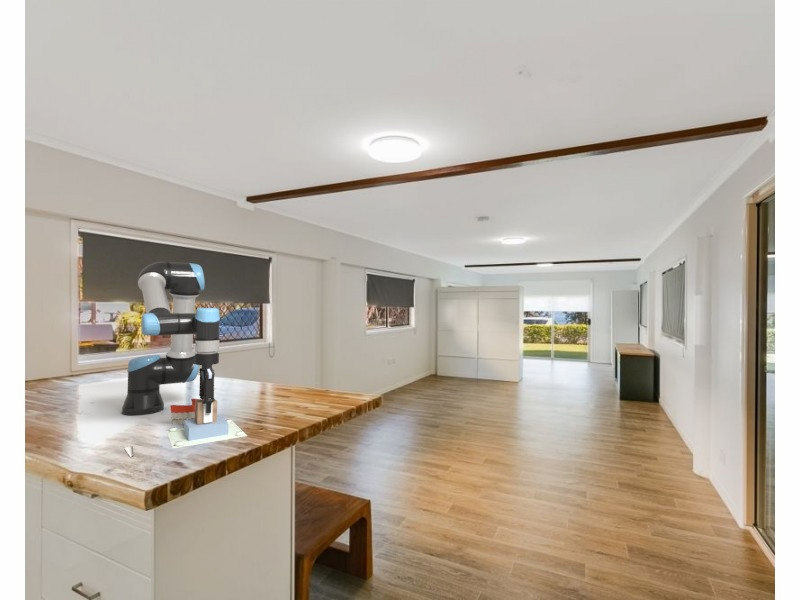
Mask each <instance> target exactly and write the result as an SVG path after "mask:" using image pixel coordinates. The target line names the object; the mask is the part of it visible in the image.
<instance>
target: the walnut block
mask: <svg viewBox="0 0 800 600" xmlns="http://www.w3.org/2000/svg"><path fill="white" fill-rule="evenodd" d="M202 402H204V399H201V400H195V422H196V423H197V425H198V424H206V423H203V406H204V404H202ZM217 416H218V400H217V399H215V398H214V402H213V415H212V422H209V423H214V422H217Z"/></svg>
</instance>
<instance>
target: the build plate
mask: <svg viewBox="0 0 800 600" xmlns="http://www.w3.org/2000/svg"><path fill="white" fill-rule="evenodd" d="M225 420H226V421H227V422H228V423H229V424H228V435H223V436H217V437H210V438H204V439H198V440H192V441H189V440H188V439H187V437H186V435H185V433H184V427H182V428H178V427H177V426H173V427H169V428H168V430H165V432H166V434H167V437H168V440H169V442H170V445H171V448H172V449H178V448H185V447H190V446H195V445H201V444H208V443H214V442H220V441H226V440H232V439H237V438H243V437H248V435H247V434H246V433H245V432H244V431H243V430H242V429H241V428H240V427H239V426H238V424H236V423H235V422H234V421H233V420H232V419H225Z"/></svg>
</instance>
